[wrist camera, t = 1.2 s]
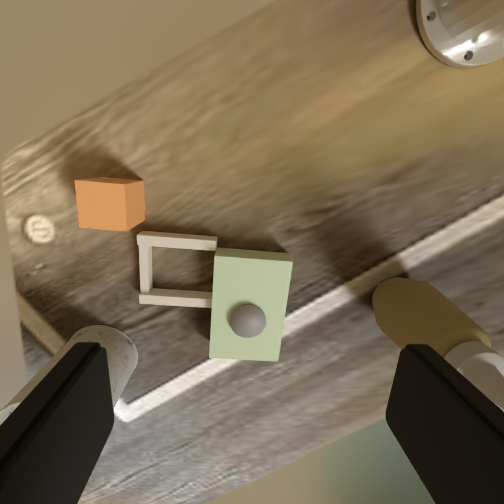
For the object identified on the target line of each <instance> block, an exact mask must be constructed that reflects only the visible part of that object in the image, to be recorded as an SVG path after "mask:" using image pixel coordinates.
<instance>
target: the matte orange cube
mask: <svg viewBox="0 0 504 504" xmlns="http://www.w3.org/2000/svg"><path fill="white" fill-rule="evenodd" d="M74 181H75V190H76V199H77V209H78V218H79V227H80V228H92V229H104V230H117V231H128V230H130V229H132V228H133V227H135V226H136V225H138V224H140V223H141V222H143V221H145V197H144V181H143V180H132V179H121V178H110V177H96V178H87V179H78V180H74Z"/></svg>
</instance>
